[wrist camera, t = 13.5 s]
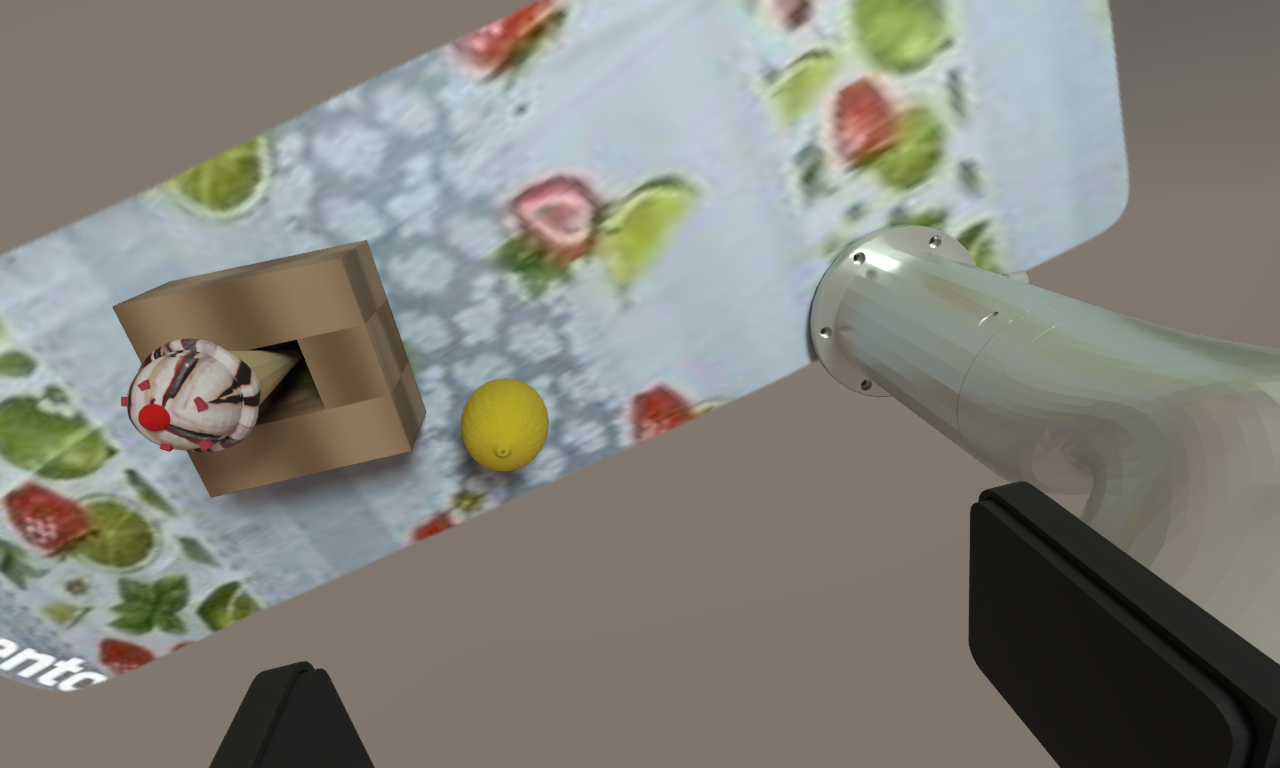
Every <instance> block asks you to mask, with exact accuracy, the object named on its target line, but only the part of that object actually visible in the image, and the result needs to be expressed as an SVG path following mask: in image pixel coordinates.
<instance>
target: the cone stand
mask: <svg viewBox="0 0 1280 768" xmlns="http://www.w3.org/2000/svg"><path fill="white" fill-rule="evenodd" d="M113 309H114V311H115V313H116V315H117V317H118V319H119V321H120V323H121V325H122V327H123V328H124V330H125V332H126V334H127V336H128V338H129V340H130V342H131V344H132V346H133V348H134V350H135V352H136V354H137V356H138V357H139V359H140V361H141V363H143V362H144V361H145V359H146V358H147V357H148V356H149V355H150V354H151V353H152V352H153V351H154V350H156V349H158V348H159V347H161V346H163V345H164V344H166V343H168V342H172V341H175V340H180V339H202V340H207V341H209V342H212V343H215V344H217V345H218V346H220V347H222V348H224V349H225V350H227V351H255V350H268V347H267V346H269V345H274V344H278V343H283V342H288V341H292V340H297V341H298V344H299V346H300V349H301V351H302V353H303V356H304V358H305V361H306V363H307V366H308V368H309V370H310V373H311V375H312V378H313V380H314V382H313V383H308V384H304V385H299V386H295V387H290V388H286V389H285V387H284V384H283V382H282V380H281V381H280V382H279V384H278V385H277V386H276V387H275V388H274V389H273V390H272V392H271V393H270V394H269V395H268V396H267V397H266V398H265V399H264V401H263V402H262V403H261V404H260V405H259V411H258V418H257V421H256V424H255V426H254V428H253V429H252V430H251V432H250V433H249V434H248V436H247V437H245V438H244V439H243V440H242V441H241V442H240V443H238V444H236V445H234V446H232V447H230V448H226V449H223V450H219V451H215V452H206V453H205V452H193V451H189V450H187V452H188V454H189V456H190V458H191V460H192V462H193V464H194V466H195V468H196V470H197V471H198V473H199V475H200V477H201V479H202V481H203V483H204V485H205V487H206V489H207V491H208V493H209V495H210V497H211V498H212V497H216V496H220V495H224V494H229V493H233V492H237V491H242V490H246V489H250V488H255V487H259V486H263V485H267V484H272V483H276V482H280V481H285V480H289V479H293V478H298V477H302V476H306V475H310V474H315V473H319V472H323V471H328V470H332V469H336V468H341V467H345V466H349V465H353V464H358V463H362V462H366V461H371V460H375V459H379V458H384V457H388V456H392V455H396V454H401V453H405V452H409V451H411V450H412V448H413V445H414V442H415V440H416V437H417V434H418V432H419V429H420V426H421V424H422V421H423V418H424V416H425V413H426V410H425V407H424V404H423V401H422V398H421V395H420V392H419V389H418V387H417V384H416V381H415V378H414V375H413V372H412V369H411V366H410V363H409V361H408V358H407V355H406V352H405V349H404V346H403V343H402V340H401V337H400V335H399V332H398V329H397V326H396V323H395V320H394V317H393V314H392V311H391V309H390V306H389V303H388V300H387V297H386V294H385V291H384V288H383V286H382V283H381V280H380V277H379V274H378V271H377V268H376V265H375V262H374V260H373V257H372V254H371V251H370V248H369V245H368V242H367V240H365V241H360V242H356V243H351V244H346V245H341V246H336V247H332V248H327V249H322V250H317V251H313V252H308V253H303V254H298V255H294V256H289V257H284V258H279V259H275V260H270V261H265V262H260V263H256V264H251V265H246V266H241V267H237V268H232V269H227V270H222V271H218V272H213V273H208V274H203V275H199V276H194V277H189V278H184V279H180V280H175V281H170V282H168V283H165V284H163V285H161V286H159V287H156V288H154V289H152V290H149V291H147V292H145V293H142V294H140V295H138V296H136V297H133V298H131V299H129V300H126V301H124V302H122V303H119V304H117V305H115V306H113Z"/></svg>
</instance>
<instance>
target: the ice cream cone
mask: <svg viewBox="0 0 1280 768" xmlns="http://www.w3.org/2000/svg"><path fill="white" fill-rule="evenodd" d="M302 356H303V353H302V351H301V350H255V351H227V350H225V349H224V348H222V347H220V346H218V345H217V344H215V343H212V342H209V341H207V340H202V339H180V340H175V341H172V342H168V343H166V344H164V345H163V346H161V347H159V348H158V349H156V350H154V351H153V352H152V353H151V354H150V355H149V356H148V357H147V358H146V359H145V361H144V362H143V363H142V365H141V366H140V369H139V372H138V374H137V375H136V376H135V378H134V379H133V381H132V382H131V385H130V387H129V390H128V393H127V397H121V406H127V411H128V416H129V419H130V420H131V422H132V424H133V425H134V426H135V428H136V429H137V430H138V431H139V432H140V433H141V434H142V435H143V436H144V437H145V438H147V439H148V440H150V441H151V442H153V443H155V444H157V445H160V449H162V450H165V451H168V452H169V451H171V450H173V449H175V450H189V451H193V452H205V453H206V452H215V451H219V450H223V449H226V448H230V447H232V446H234V445H236V444H238V443H240V442H241V441H242V440H243V439H244V438H245V437H247V436H248V434H249V433H250V432H251V430H252V429H253V428H254V426H255V424H256V421H257V418H258V411H259V405H260V404H261V403H262V402H263V401H264V399H265V398H266V397H267V396H268V395H269V394H270V393H271V392H272V390H273V389H274V388H275V387H276V386H277V385H278V384H279V382H280V381H281V380H282V379H283V378H284V377H285V376H286V374H287V373H288V372H289V371H290V370H291V369H292V368H293V367H294V365H295V364H296V363H297V362H298V361H299V360H300V359H301V357H302Z"/></svg>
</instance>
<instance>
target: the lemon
mask: <svg viewBox="0 0 1280 768" xmlns="http://www.w3.org/2000/svg"><path fill="white" fill-rule="evenodd" d="M548 426H549V420H548V413H547V409H546V406H545V404H544V402H543V400H542V398H541V397H540V395H539V394H538V393H537V392H536V391H535V390H534V389H533V388H532V387H530V386H529V385H528V384H526V383H524V382H521V381H519V380H515V379H508V378H505V379H496V380H493V381H490V382H487V383H486V384H484V385H482V386H481V387H479V388H478V389H477V390H476V391H475V392H474V393H473V394H472V395H471V396H470V398H469V400H468V401H467V403H466V405H465V407H464V410H463V414H462V418H461V432H462V438H463V441H464V444H465V446H466V449H467V450H468V452H469V453H470V455H471V456H472V458H473V459H475V460H476V461H477V462H478V463H479V464H480V465H482V466H484V467H486V468H488V469H491V470H495V471H512V470H516V469H519V468H521V467H523V466H525V465H527V464H528V463H529V462H531V461H532V460H533V459H534V458H535V457H536V456H537V454H538V453H539V452H540V451H541V449H542V447H543V445H544V442H545V440H546V438H547V434H548Z"/></svg>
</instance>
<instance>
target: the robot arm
mask: <svg viewBox="0 0 1280 768" xmlns="http://www.w3.org/2000/svg"><path fill="white" fill-rule="evenodd" d="M930 239H931V241H930ZM855 255H857V256H856V258H855V259H854V256H855ZM853 259H854V260H853ZM810 325H811V338H812V342H813V346H814V350H815V352H816V354H817V356H818V358H819V361H820V362H821V364H822V365H823V367H824V368H825V369H826V370H827V372H828V373H829V374H830V375H831V376H832V377H834V378H835V379H836V380H837V381H838V382H839V383H840V384H842V385H844V386H845V387H847V388H848V389H850V390H852V391H854V392H857V393H860V394H863V395H868V396H875V397H888V396H893V397H895V398H896V399H897V400H899V401H900V402H901V403H903V404H904V405H905V406H906V407H908V408H909V409H910V410H912V411H913V412H914V413H916V414H917V415H918V416H919V417H921V418H922V419H923V420H925V421H926V422H927V423H929V424H930V425H931V426H933V427H934V428H935V429H937V430H938V431H939V432H940V433H942V434H943V435H944V436H946V437H947V438H948V439H950V440H951V441H952V442H954V443H955V444H957V445H958V446H959V447H960V448H961V449H963V450H964V451H965V452H967V453H968V454H969V455H971V456H972V457H973V458H975V459H976V460H978V461H979V462H980V463H981V464H983V465H984V466H985V467H987V468H988V469H989V470H991V471H992V472H993V473H995V474H996V475H998V476H1000V477H1001V478H1003V479H1004V480H1006V481H1008V482H1010V483H1011V484H1007V485H1003V486H999V487H995V488H991V489H987V490H985V491H983V492H982V493H981V494H980V496H979V502H977V503H975V504H973V505H972V507H971V512H970V576H969V647H970V650H971V653H972V656H973V658H974V660H975V662H976V664H977V665H978V667H979V668H980V669H981V671H982V672H983V673H984V674H985V676H986V677H987V678H988V679H989V681H990V682H991V683H992V684H993V685H994V687H995V688H996V689H997V690H998V692H999V693H1000V694H1001V695H1002V697H1003V698H1004V699H1005V700H1006V701H1007V703H1008V704H1009V705H1010V706H1011V708H1013V710H1014V711H1015V712H1016V714H1017V715H1018V716H1019V717H1020V718H1021V720H1022V721H1023V722H1024V723H1025V725H1026V726H1027V727H1028V728H1029V729H1030V731H1031V732H1032V733H1033V734H1034V736H1035V737H1036V738H1037V739H1038V741H1039V742H1040V743H1041V744H1042V745H1043V747H1044V748H1045V749H1046V750H1047V752H1048V753H1049V754H1050V755H1051V757H1052V758H1053V759H1054V760H1055V761H1056V762H1057V764H1058V765H1059V766H1060V768H1280V349H1273V348H1267V347H1260V346H1255V345H1249V344H1242V343H1236V342H1230V341H1225V340H1221V339H1215V338H1211V337H1206V336H1201V335H1196V334H1191V333H1187V332H1182V331H1179V330H1175V329H1171V328H1168V327H1164V326H1160V325H1157V324H1153V323H1150V322H1146V321H1143V320H1139V319H1135V318H1131V317H1128V316H1125V315H1121V314H1119V313H1116V312H1112V311H1109V310H1106V309H1103V308H1100V307H1097V306H1094V305H1091V304H1087V303H1084V302H1081V301H1078V300H1075V299H1072V298H1069V297H1066V296H1063V295H1060V294H1057V293H1054V292H1051V291H1048V290H1045V289H1041V288H1038V287H1035V286H1032V285H1029V280H1028V276H1027V274H1026V273H1025V272H1024V271H1023V270H1021V271H1015V272H1011V273H1007V274H1002V275H999V274H995V273H992V272H989V271H986V270H983V269H980V268H977V267H976V265H975V262H974V261H973V259H972V257H971V256H970V254H969V253H968V251H967V250H966V249H965V248H964V247H963V246H962V245H961V244H960V243H959V242H958V241H957V240H956V239H955V238H953V237H951V236H950V235H948V234H946V233H945V232H942V231H939V230H936V229H933V228H930V227H926V226H920V225H915V224H907V225H895V226H890V227H886V228H882V229H879V230H877V231H875V232H872V233H870V234H867V235H865V236H864V237H862V238H861V239H859V240H858V241H856V242H855V243H853V244H852V245H850V246H849V247H848V248H847V249H846V250H845V251H844V252H843V253H842V254H841V255H840V256H838V258H837V259H836V260H835V261H834V263H833V264H832V265H831V267H830V268H829V269H828V270H827V272H826V274H825V275H824V277H823V279H822V281H821V283H820V285H819V287H818V289H817V292H816V295H815V298H814V301H813V305H812V312H811V318H810ZM823 328H824V330H823V332H821V330H822V329H823ZM1044 493H1047V494H1059V495H1085V494H1086V495H1087V494H1090V496H1089V498H1088V500H1087V503H1086V505H1085V507H1084V509H1083V511H1082V513H1081V515H1080V517H1079V519H1078V518H1077V517H1076V516H1074V515H1073V514H1071V513H1070V512H1069V511H1067V510H1066V509H1065V508H1063V507H1062V506H1061V505H1059V504H1058V503H1056V502H1055V501H1054V500H1052V499H1051V498H1049V497H1048V496H1047V495H1045V494H1044ZM209 768H374V766H373V764H372V762H371V760H370V758H369V756H368V753H367V751H366V749H365V748H364V745H363V743H362V741H361V740H360V737H359V735H358V733H357V731H356V729H355V727H354V725H353V723H352V721H351V719H350V717H349V715H348V713H347V711H346V709H345V707H344V705H343V703H342V701H341V699H340V697H339V695H338V693H337V691H336V689H335V687H334V685H333V683H332V681H331V679H330V677H329V675H328V674H327V672H326V671H325V670H323V669H316V670H315V669H314V668H313V666H312V665H311V664H310V663H308V662H307V661H306V662H298V663H294V664H290V665H286V666H282V667H278V668H274V669H271V670H266V671H263V672H261V673H259V674H258V675H257V676H256V677H255V679H254V680H253V682H252V684H251V686H250V688H249V689H248V691H247V694H246V695H245V698H244V699H243V701H242V703H241V705H240V707H239V709H238V711H237V713H236V715H235V718H234V719H233V721H232V723H231V725H230V727H229V729H228V731H227V733H226V735H225V737H224V739H223V741H222V743H221V745H220V747H219V749H218V751H217V753H216V755H215V757H214V759H213V761H212V763H211V765H210V767H209Z"/></svg>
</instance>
